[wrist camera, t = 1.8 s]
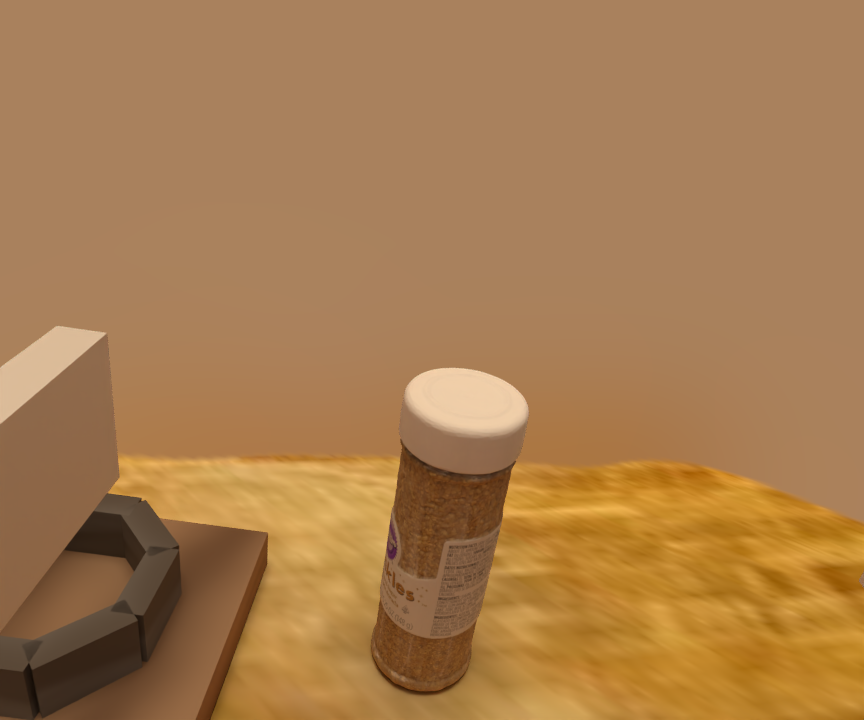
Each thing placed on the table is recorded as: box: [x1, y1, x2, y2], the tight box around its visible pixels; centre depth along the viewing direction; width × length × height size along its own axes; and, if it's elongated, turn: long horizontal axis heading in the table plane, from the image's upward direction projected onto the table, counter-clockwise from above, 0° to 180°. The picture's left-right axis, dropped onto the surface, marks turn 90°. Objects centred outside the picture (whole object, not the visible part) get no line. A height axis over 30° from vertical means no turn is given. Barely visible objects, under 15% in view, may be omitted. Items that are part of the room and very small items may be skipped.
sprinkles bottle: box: [371, 368, 529, 691], centre depth 27 cm, size 5×5×14 cm
